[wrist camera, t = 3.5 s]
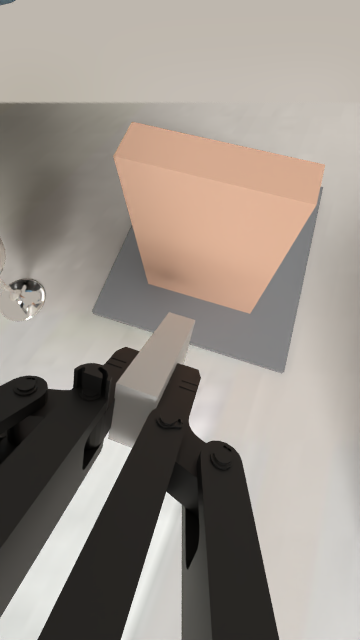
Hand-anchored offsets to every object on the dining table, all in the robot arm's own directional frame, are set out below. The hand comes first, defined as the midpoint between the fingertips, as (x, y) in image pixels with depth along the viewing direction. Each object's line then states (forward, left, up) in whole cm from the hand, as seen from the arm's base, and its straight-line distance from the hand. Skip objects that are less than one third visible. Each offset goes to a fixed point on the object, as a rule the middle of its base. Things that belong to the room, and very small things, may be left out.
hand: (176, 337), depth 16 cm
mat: (-9, +9, -10) cm, 16 cm away
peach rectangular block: (-6, +5, -9) cm, 12 cm away
